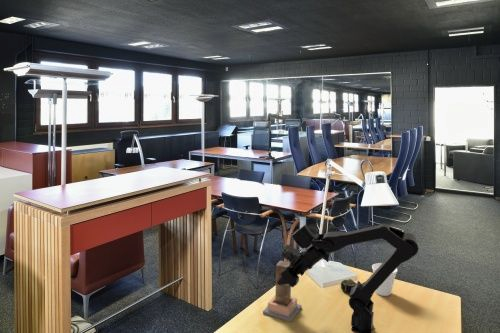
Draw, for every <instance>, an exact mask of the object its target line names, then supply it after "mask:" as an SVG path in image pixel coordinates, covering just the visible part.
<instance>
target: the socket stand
mask: <svg viewBox="0 0 500 333" xmlns="http://www.w3.org/2000/svg"><path fill="white" fill-rule="evenodd" d="M275 299H276V294H275V295H274V296H273V297H272V298H271V299H270V300H269V301H268V302H267V306H266V307H265V308H264V310H262V314H263V315H267V316H270V317H272V318H276V319H280V320H283V321H285V322H286V321H287V322H290V323H291V322H292V321H293V319H294V318H295V317H296V315H297V314H298V313H299V311H300V310H301V309H302V304H299V303H298V298H297V297H292V296H291V297H290V299H289V301H288V302H287V303H284V302H279V301H275Z"/></svg>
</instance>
